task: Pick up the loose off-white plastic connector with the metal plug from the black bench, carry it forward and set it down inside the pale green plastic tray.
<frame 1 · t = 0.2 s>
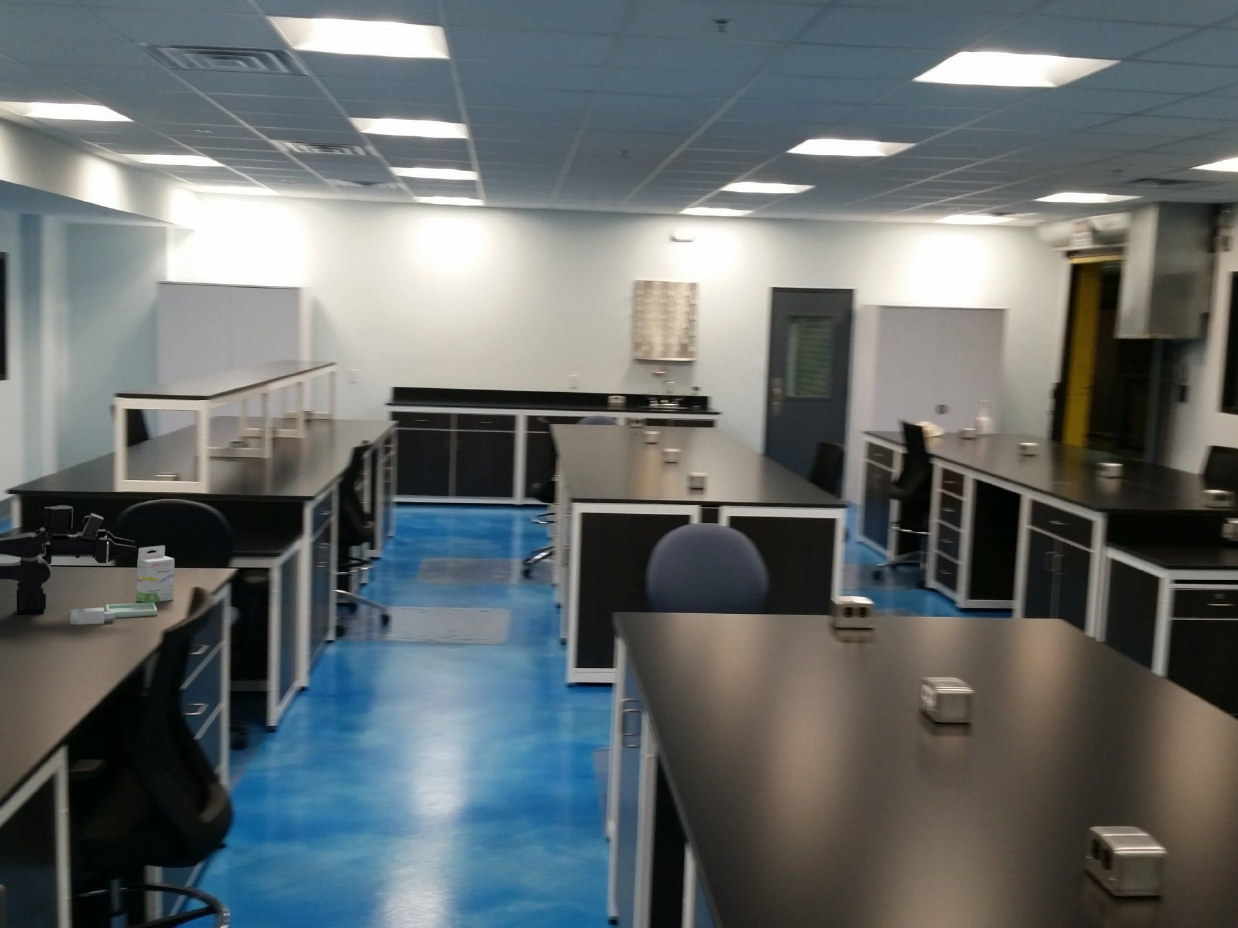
hand: (135, 546, 316), 17 cm above the lab bench, tool horizontal, fingers open, 9 cm apart
ink box: (155, 600, 326), on the lab bench
tray: (131, 612, 312), on the lab bench
connector: (90, 622, 300), on the lab bench
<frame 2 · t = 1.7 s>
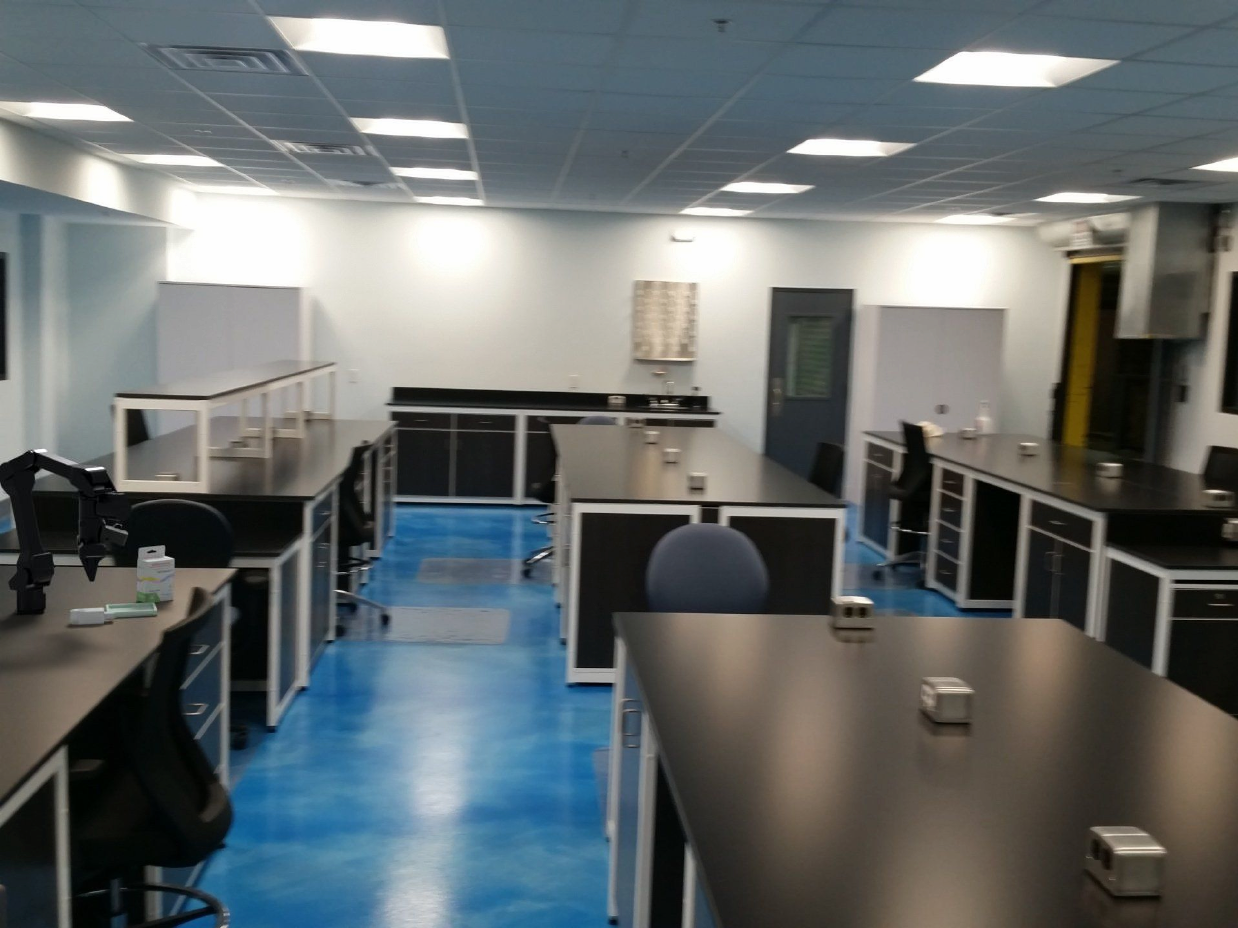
hand: (91, 577, 299), 11 cm above the lab bench, tool pointing down, fingers open, 9 cm apart
nothing on the lab bench moved.
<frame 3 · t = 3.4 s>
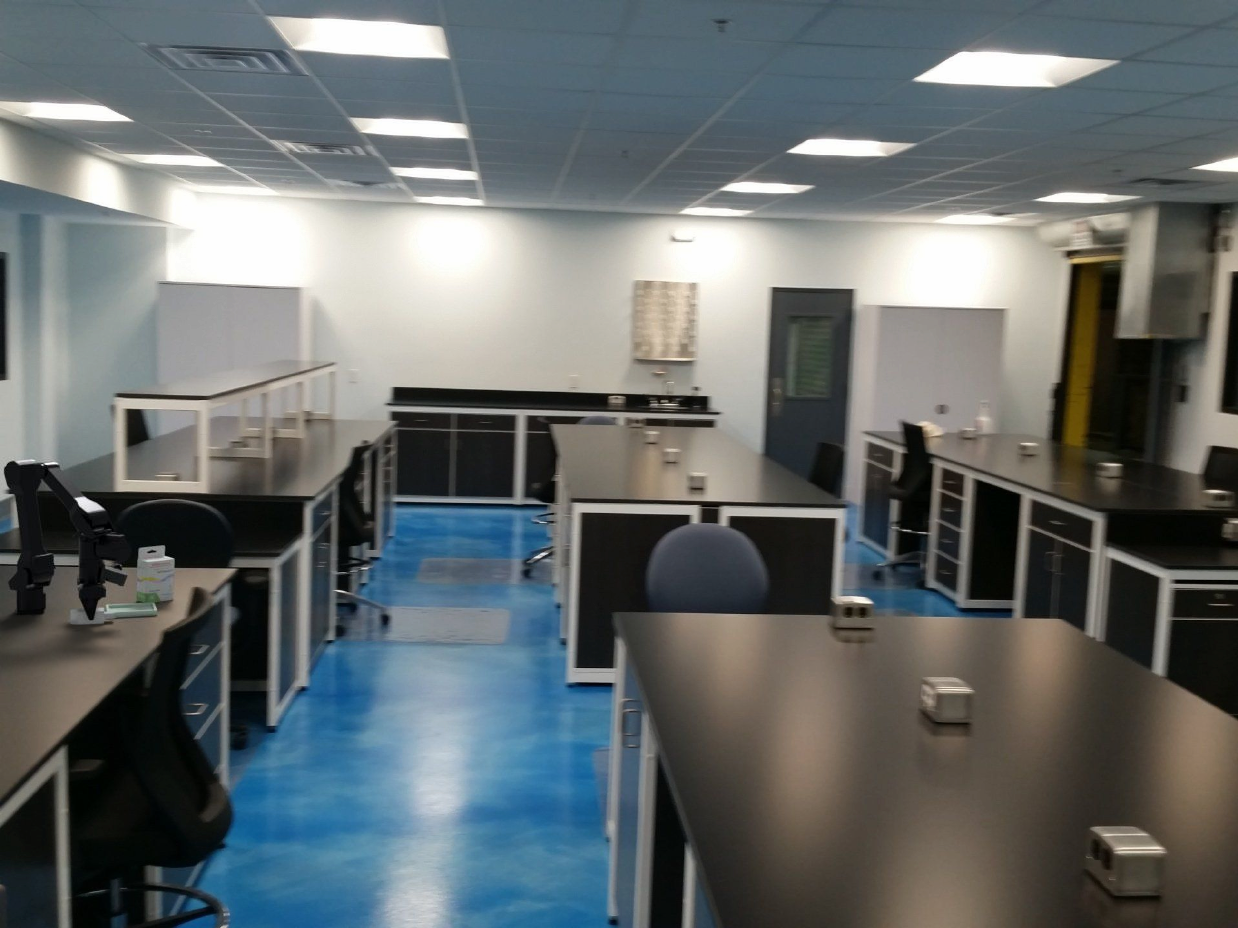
hand: (90, 618, 300), 1 cm above the lab bench, tool pointing down, fingers closed on connector, 4 cm apart
connector: (90, 622, 300), on the lab bench, touching gripper
everything else where it was.
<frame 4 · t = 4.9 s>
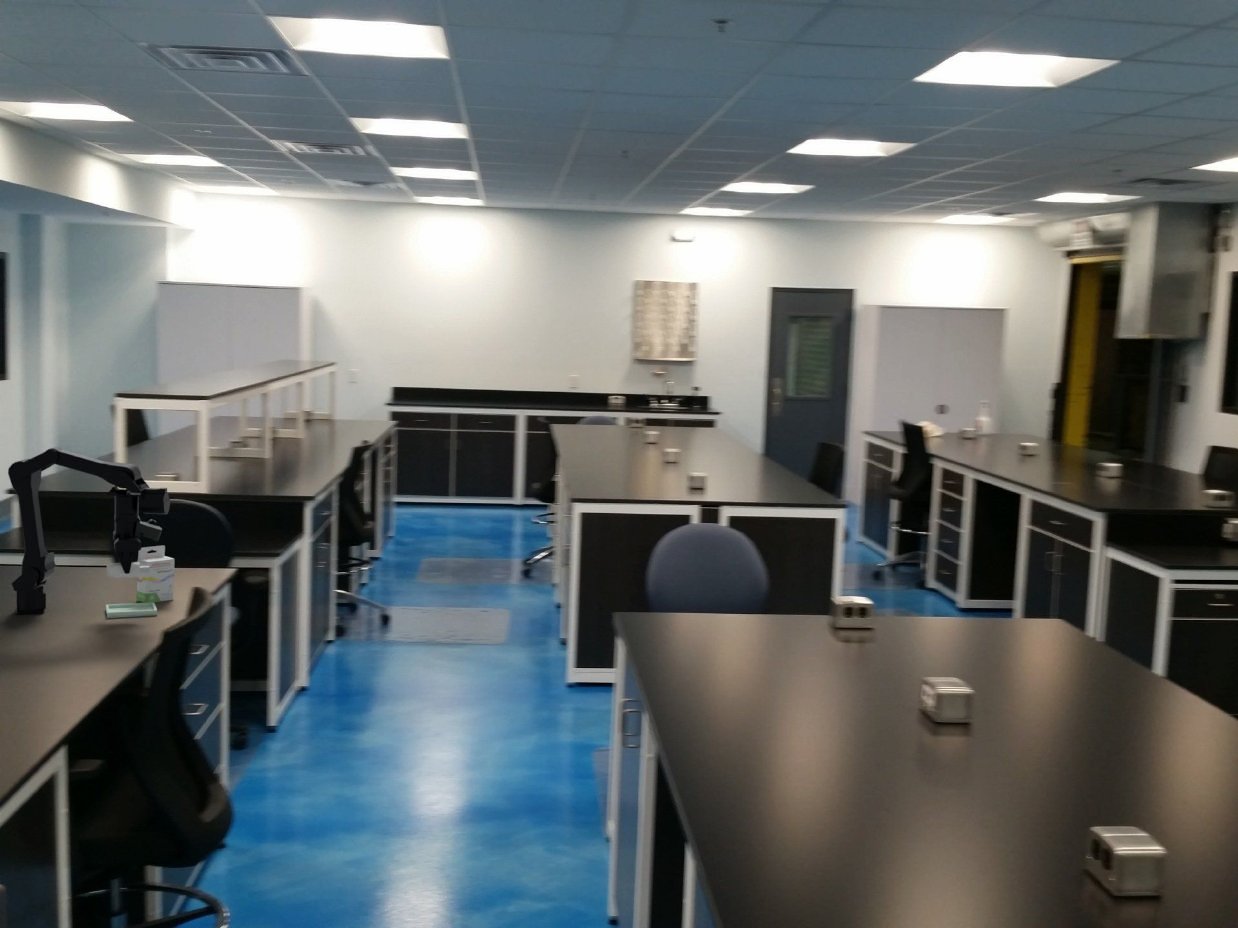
hand: (126, 571, 309), 11 cm above the lab bench, tool pointing down, fingers closed on connector, 4 cm apart
connector: (126, 575, 309), point 10 cm above the lab bench, touching gripper
everything else where it was.
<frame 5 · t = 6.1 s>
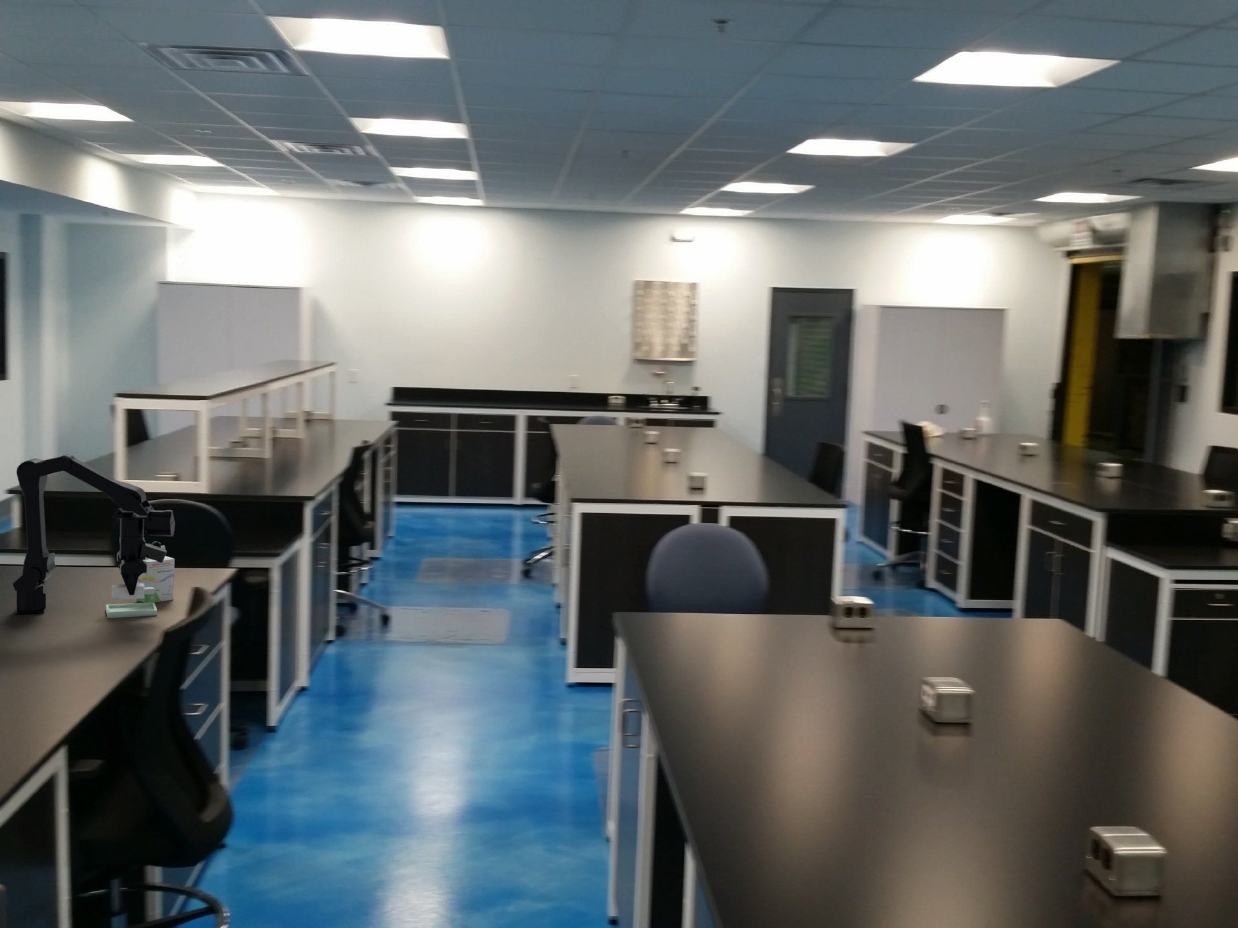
hand: (131, 593, 311), 5 cm above the lab bench, tool pointing down, fingers closed on connector, 4 cm apart
connector: (131, 597, 311), point 4 cm above the lab bench, touching gripper
everything else where it was.
when the fingers open (3 cm above the lab bench, at t = 6.8 s): connector drops 1 cm, resting on tray.
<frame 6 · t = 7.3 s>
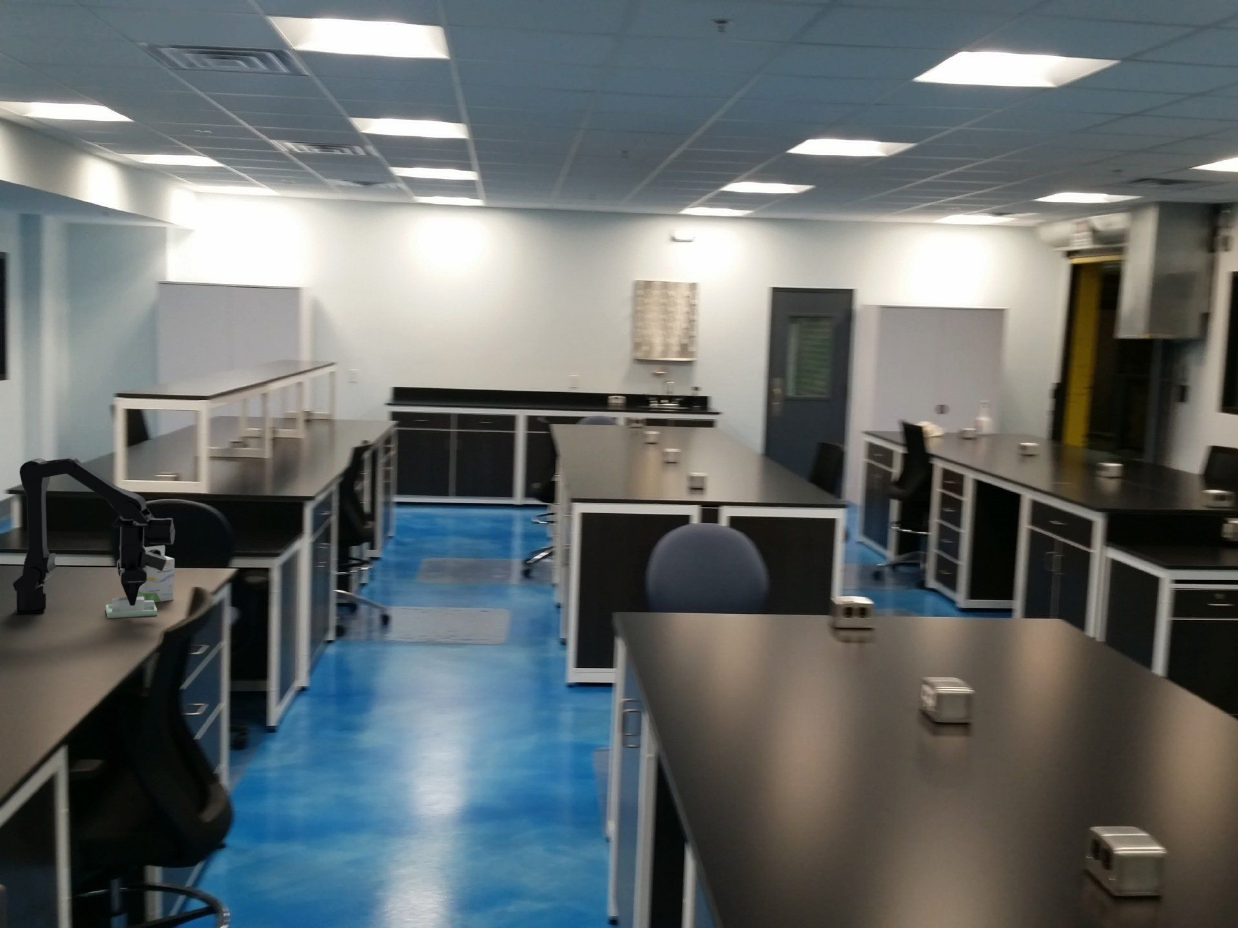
hand: (131, 601, 311), 3 cm above the lab bench, tool pointing down, fingers open, 9 cm apart
connector: (131, 610, 312), point 1 cm above the lab bench, touching tray
everything else where it was.
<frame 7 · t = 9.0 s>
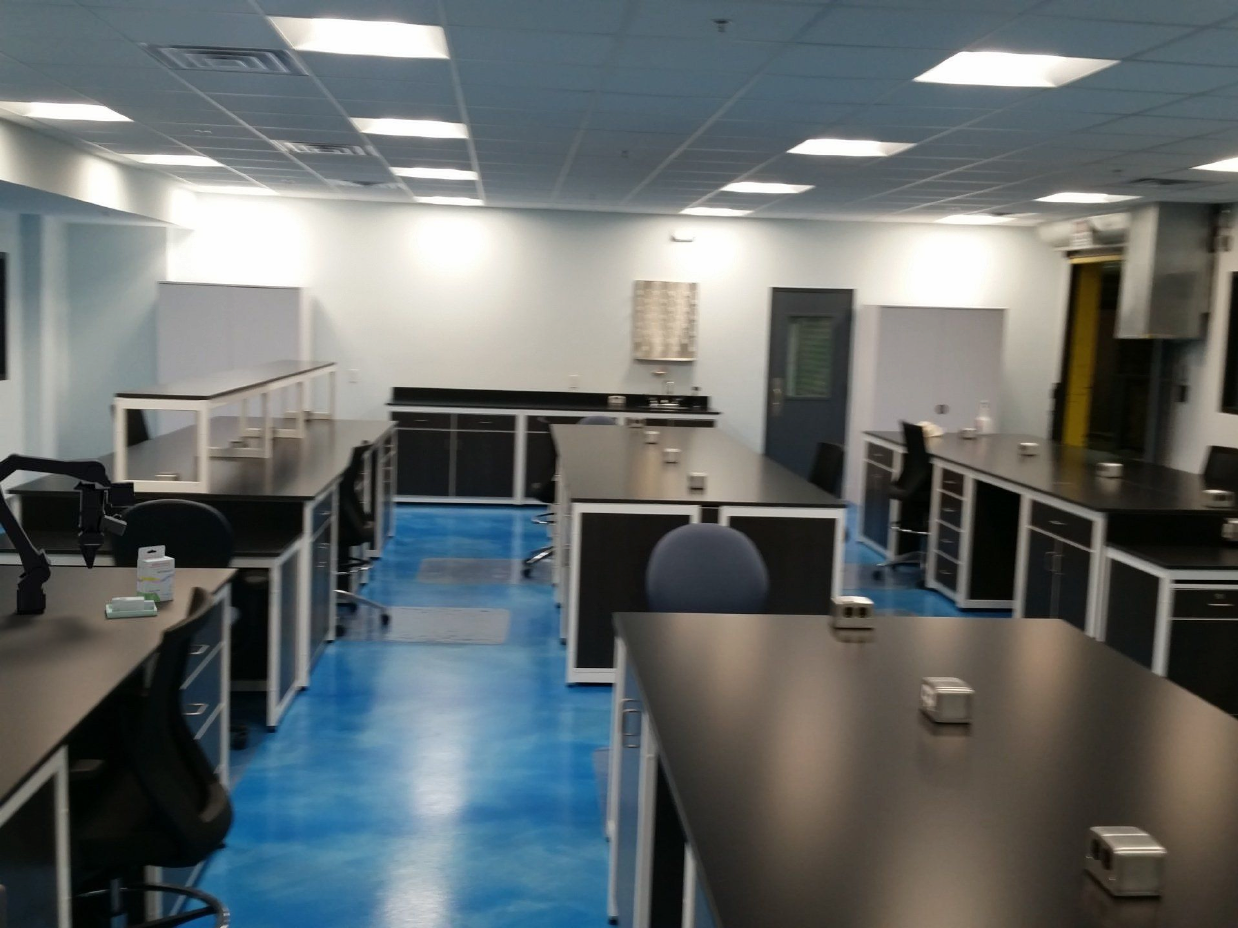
hand: (90, 565, 312), 12 cm above the lab bench, tool pointing down, fingers open, 9 cm apart
nothing on the lab bench moved.
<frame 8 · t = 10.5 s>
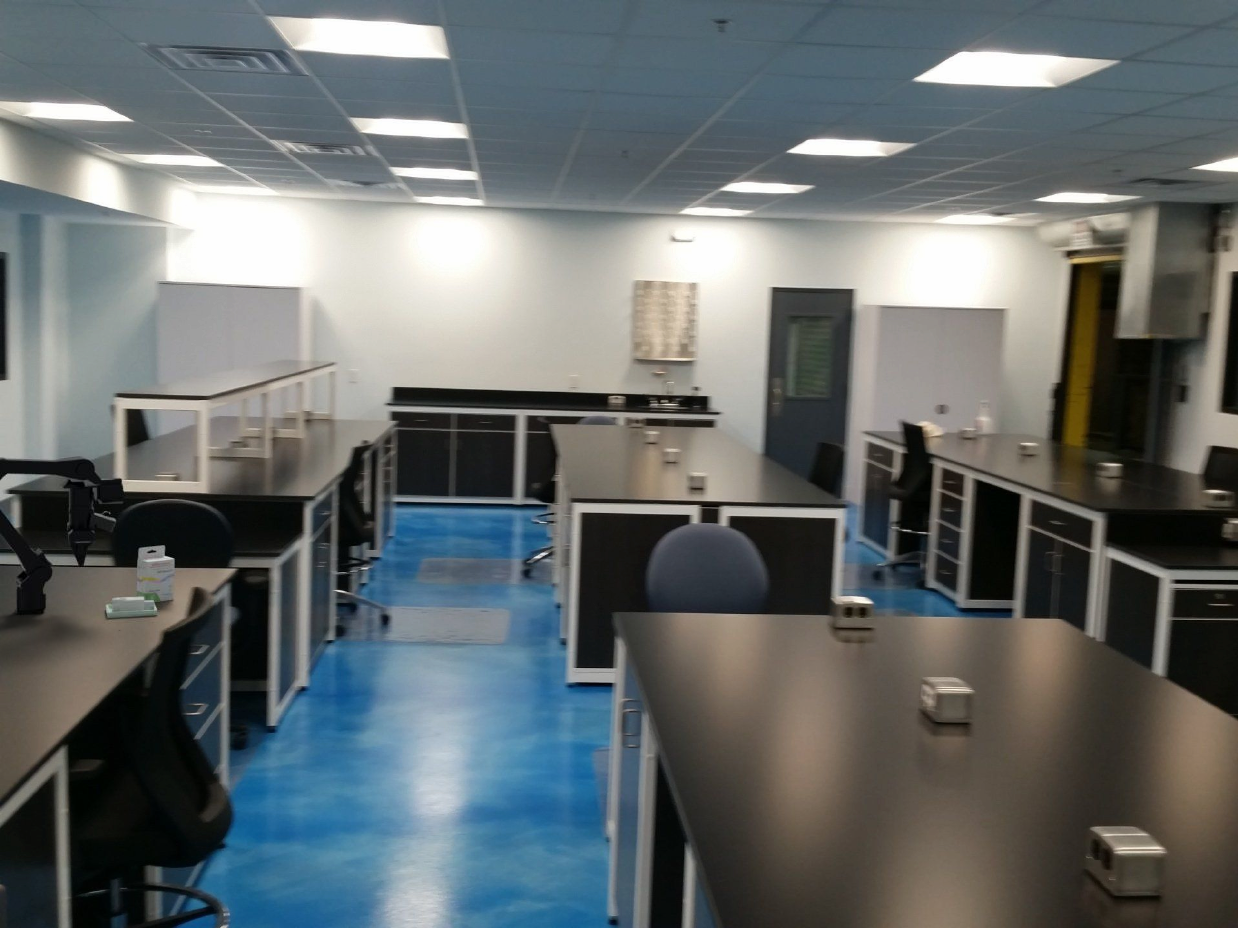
hand: (80, 562, 313), 12 cm above the lab bench, tool pointing down, fingers open, 9 cm apart
nothing on the lab bench moved.
at the end: connector inside the target area on the tray (0.1 cm from its centre), point 0.6 cm above the tray's base; the gripper is holding nothing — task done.
